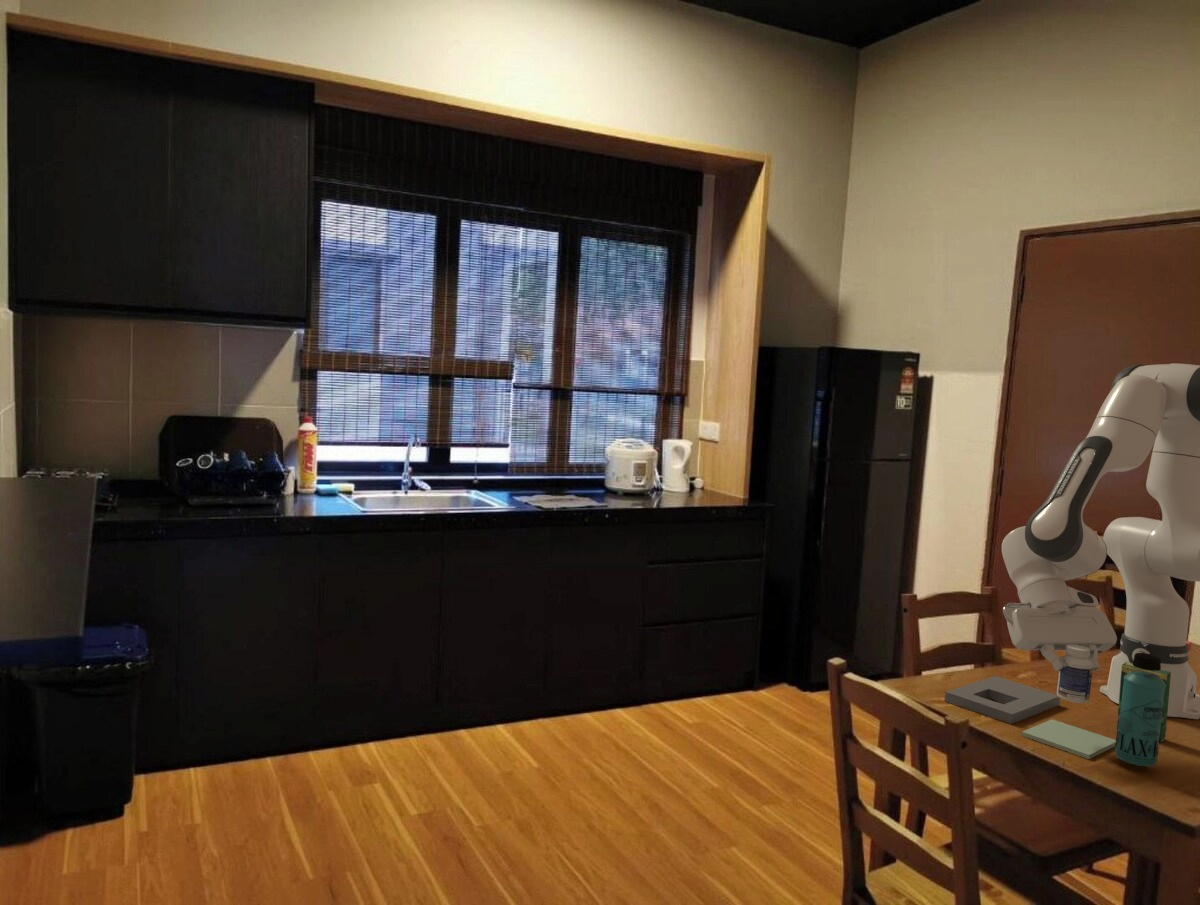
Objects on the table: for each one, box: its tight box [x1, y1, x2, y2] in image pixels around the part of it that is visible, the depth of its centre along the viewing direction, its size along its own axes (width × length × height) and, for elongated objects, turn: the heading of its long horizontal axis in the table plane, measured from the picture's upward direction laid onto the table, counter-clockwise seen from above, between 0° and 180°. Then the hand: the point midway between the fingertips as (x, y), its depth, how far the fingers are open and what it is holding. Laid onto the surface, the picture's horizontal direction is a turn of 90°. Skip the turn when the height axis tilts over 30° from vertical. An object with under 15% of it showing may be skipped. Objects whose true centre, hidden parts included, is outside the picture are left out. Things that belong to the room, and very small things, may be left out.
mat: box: [1021, 719, 1116, 760], centre depth 166 cm, size 12×12×1 cm
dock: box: [944, 675, 1061, 725], centre depth 184 cm, size 20×14×2 cm
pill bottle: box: [1056, 644, 1094, 704], centre depth 165 cm, size 5×5×10 cm
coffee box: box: [1116, 662, 1171, 743], centre depth 170 cm, size 8×3×13 cm, turn 43°
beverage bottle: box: [1114, 653, 1166, 767], centre depth 154 cm, size 6×7×20 cm
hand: (1078, 669), depth 164 cm, fingers closed on pill bottle, 5 cm apart
